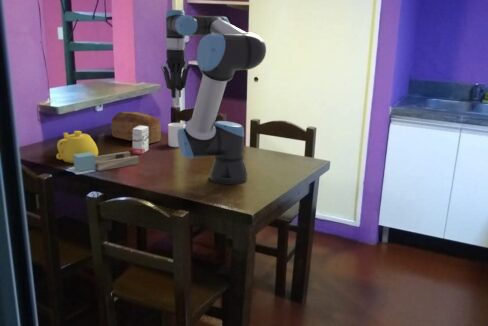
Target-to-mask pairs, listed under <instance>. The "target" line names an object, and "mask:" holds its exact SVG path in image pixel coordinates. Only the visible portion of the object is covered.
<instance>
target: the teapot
mask: <svg viewBox="0 0 488 326" xmlns="http://www.w3.org/2000/svg"><path fill="white" fill-rule="evenodd" d="M56 147H57V151H58V153H57V154H56V159H57V160H62V161H64V162H65V163H68V162H69V164H74V157H73V154H80V153H87V152H90V153H92V154H94V155H95V156H99V149H98V145H97V144H96V142H95V141H94V139H93V138H92V137H91V135H89V134H87V133H82V130H74V131H73V133H71V134H69V133H68V132H63V138H62V139H59V140H58V141H57V143H56Z"/></svg>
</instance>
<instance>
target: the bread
mask: <svg viewBox="0 0 488 326" xmlns="http://www.w3.org/2000/svg"><path fill="white" fill-rule="evenodd" d="M161 124H162V123H161V121H160V120H159V119H158V118H157V117H155V116H153V115H151V114H148V113H144V112H140V111H119V112H117V113H116V114H115V115H114V116H113V117H112V120H111V124H110V125H111V126H110V127H111V134H112V136H113V138H116V139H121V140H122V139H123V140H126V141H130V142H131V141H132V142H133V128H135V127H137V126H148V145H149V144H154V143H157V142H159V141H161V137H162V136H161V134H162V133H161Z"/></svg>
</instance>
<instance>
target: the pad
mask: <svg viewBox="0 0 488 326" xmlns="http://www.w3.org/2000/svg"><path fill="white" fill-rule="evenodd" d="M68 170H69V171H71V172H72V173H74V174H75V175H82V174H89V173H90V174H91V173H94V172H95V173H96V170H95V169H92V170H86V171H80V172H79V171H77V170H76V169H75V168H74V166H72V167H68Z"/></svg>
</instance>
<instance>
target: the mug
mask: <svg viewBox="0 0 488 326" xmlns="http://www.w3.org/2000/svg"><path fill="white" fill-rule="evenodd" d="M185 126H186V123H183V122H171V123H168V124H167V131H168V132H167V134H168V137H167V138H168V146H169V147H172V148H179V144H178V130H179V129H181V128H185Z"/></svg>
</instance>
